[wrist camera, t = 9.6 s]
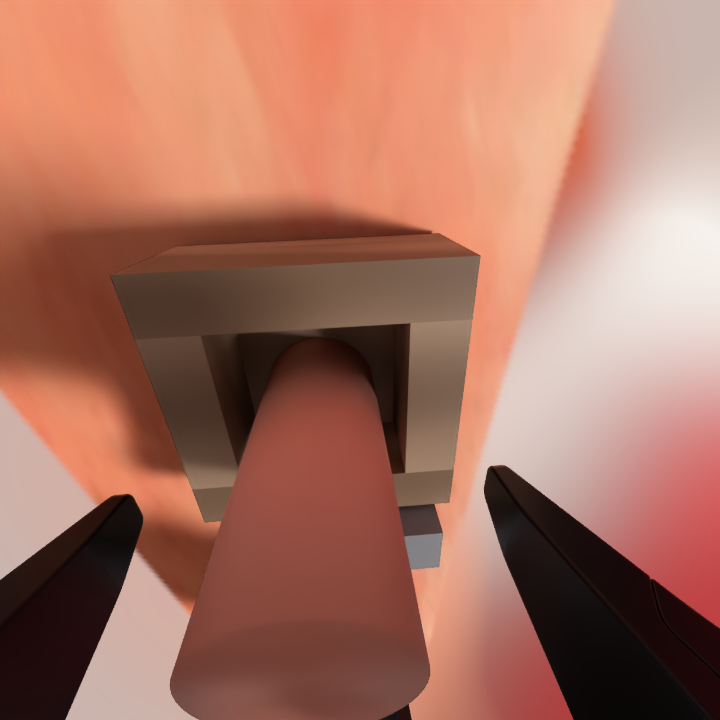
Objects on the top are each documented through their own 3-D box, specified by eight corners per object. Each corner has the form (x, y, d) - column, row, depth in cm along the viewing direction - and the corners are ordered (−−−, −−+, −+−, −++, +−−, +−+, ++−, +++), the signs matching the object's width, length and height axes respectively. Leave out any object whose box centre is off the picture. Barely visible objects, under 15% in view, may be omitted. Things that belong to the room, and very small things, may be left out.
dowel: (372, 334, 12) (438, 606, 5) (373, 421, 14) (423, 722, 6) (260, 341, 12) (130, 636, 4) (277, 428, 14) (207, 746, 6)
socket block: (425, 434, 16) (449, 502, 13) (232, 448, 16) (204, 522, 12) (438, 233, 12) (480, 255, 9) (175, 246, 12) (109, 274, 8)
